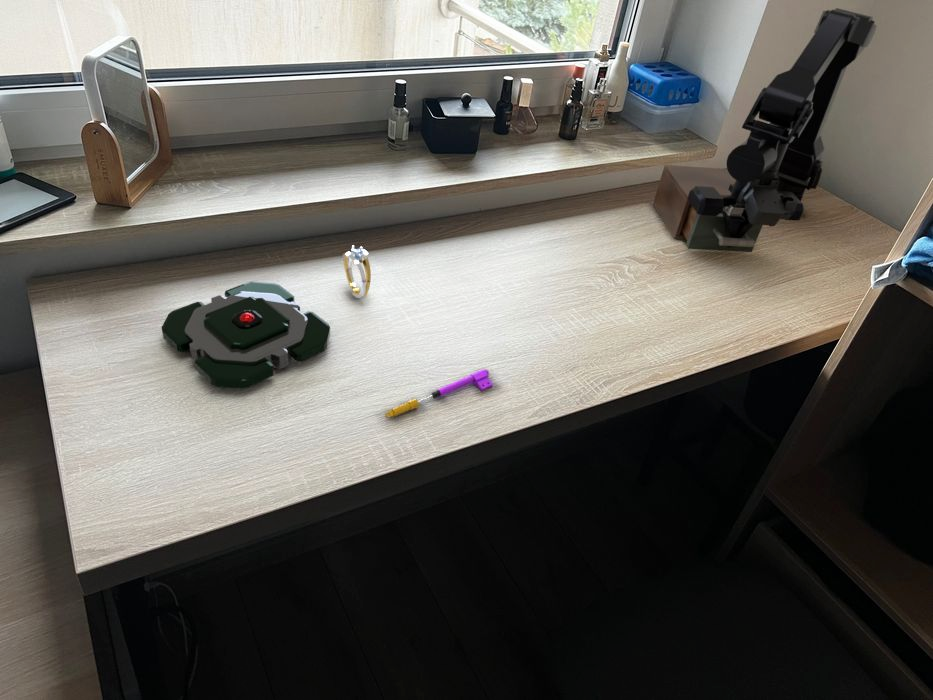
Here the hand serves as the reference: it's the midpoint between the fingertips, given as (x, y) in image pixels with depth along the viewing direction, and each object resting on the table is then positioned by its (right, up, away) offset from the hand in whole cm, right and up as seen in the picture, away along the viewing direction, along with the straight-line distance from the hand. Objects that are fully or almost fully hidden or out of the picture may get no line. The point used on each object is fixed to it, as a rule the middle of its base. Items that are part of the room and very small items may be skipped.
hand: (729, 246), depth 128 cm
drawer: (-1, +2, +6) cm, 6 cm away
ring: (-63, -10, -19) cm, 67 cm away
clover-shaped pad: (-76, -17, -30) cm, 84 cm away
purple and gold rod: (-50, -25, -35) cm, 66 cm away
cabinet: (-2, +6, +13) cm, 14 cm away
